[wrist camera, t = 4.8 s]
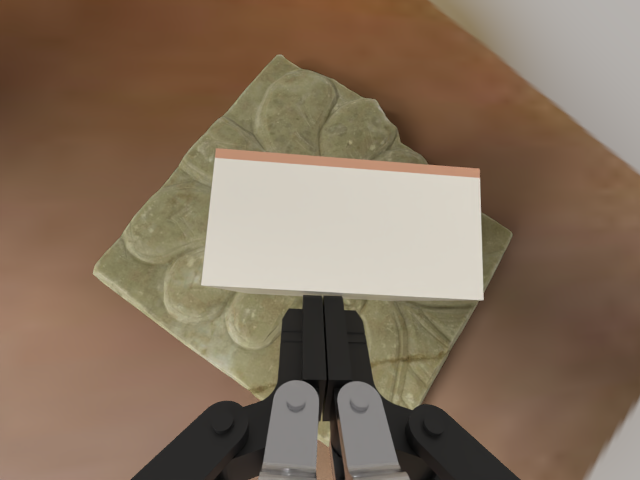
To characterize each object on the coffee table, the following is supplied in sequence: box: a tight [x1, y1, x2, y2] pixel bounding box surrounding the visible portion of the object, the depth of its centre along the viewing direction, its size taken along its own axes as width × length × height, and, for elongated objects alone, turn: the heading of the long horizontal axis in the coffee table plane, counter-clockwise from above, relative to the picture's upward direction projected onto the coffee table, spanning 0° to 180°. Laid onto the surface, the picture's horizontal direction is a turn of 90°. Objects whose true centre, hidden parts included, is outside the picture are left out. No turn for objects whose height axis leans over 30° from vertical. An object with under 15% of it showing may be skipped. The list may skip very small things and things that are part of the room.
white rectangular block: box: [201, 148, 484, 301], centre depth 15 cm, size 8×4×10 cm, turn 87°
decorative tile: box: [93, 55, 513, 447], centre depth 22 cm, size 19×20×4 cm
